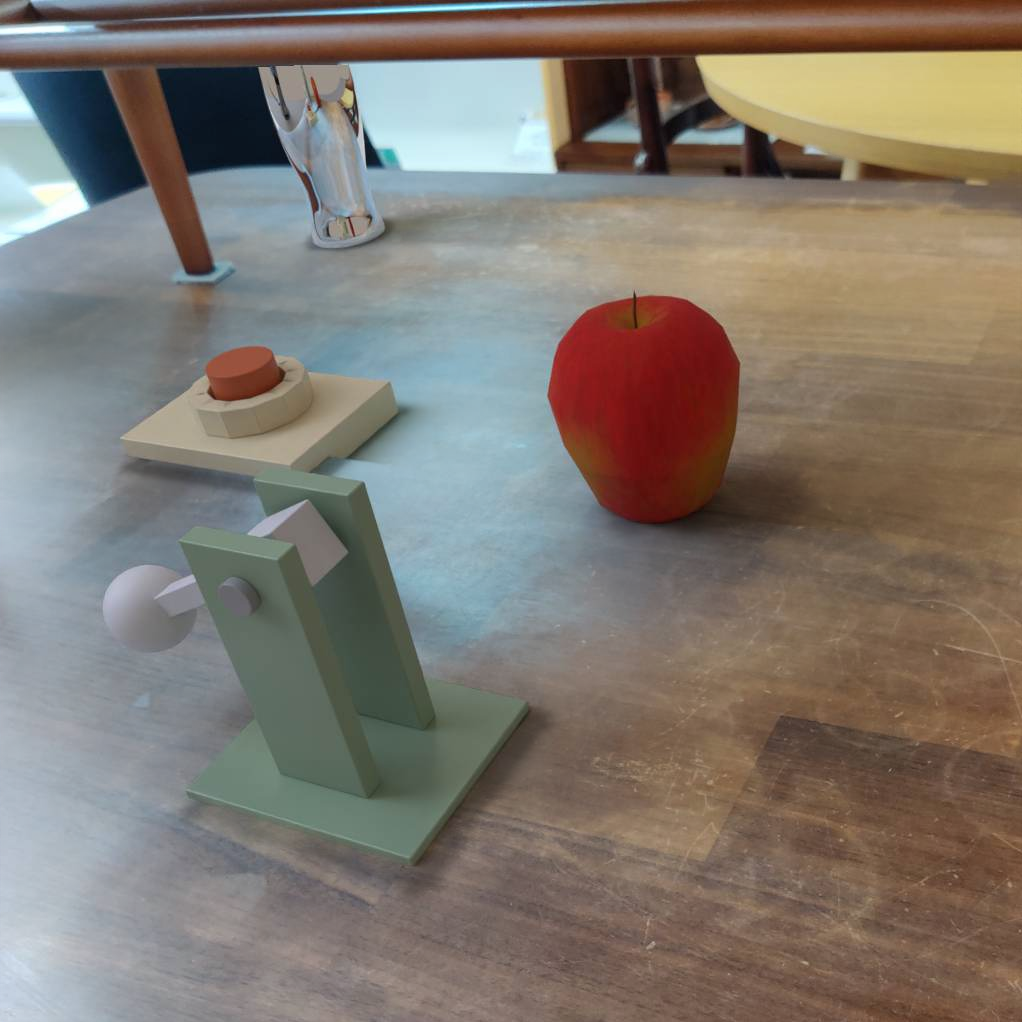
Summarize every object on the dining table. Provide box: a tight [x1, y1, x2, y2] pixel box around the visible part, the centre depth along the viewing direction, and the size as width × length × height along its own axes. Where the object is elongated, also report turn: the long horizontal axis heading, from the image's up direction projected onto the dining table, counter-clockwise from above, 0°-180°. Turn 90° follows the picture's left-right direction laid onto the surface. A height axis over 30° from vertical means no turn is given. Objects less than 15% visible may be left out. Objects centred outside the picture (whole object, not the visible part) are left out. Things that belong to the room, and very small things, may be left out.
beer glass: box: [257, 64, 386, 249], centre depth 96 cm, size 7×7×15 cm
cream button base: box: [119, 354, 399, 478], centre depth 72 cm, size 13×10×4 cm
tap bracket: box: [178, 467, 530, 867], centre depth 46 cm, size 11×9×13 cm
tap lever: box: [102, 499, 348, 654], centre depth 46 cm, size 13×4×4 cm, turn 65°
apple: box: [546, 290, 741, 523], centre depth 59 cm, size 9×9×12 cm
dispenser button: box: [204, 345, 282, 402], centre depth 71 cm, size 4×4×2 cm
